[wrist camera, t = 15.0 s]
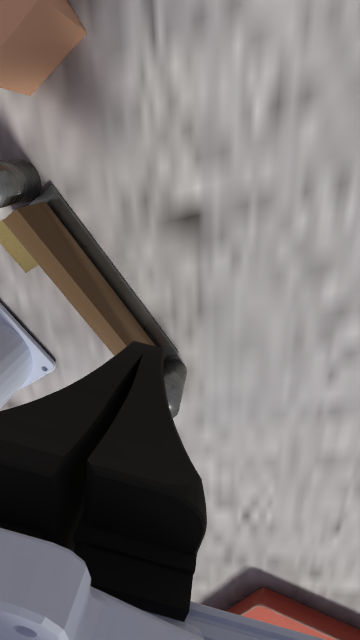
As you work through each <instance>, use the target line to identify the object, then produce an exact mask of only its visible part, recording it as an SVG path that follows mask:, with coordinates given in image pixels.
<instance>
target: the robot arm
mask: <svg viewBox="0 0 360 640" xmlns="http://www.w3.org/2000/svg"><path fill="white" fill-rule="evenodd" d="M165 352H166V351H165V350H164V348H161V347H157V346H153V345H149V344H145V343H141V342H137V341H133V342H131V343H130V344H129V345H128V346H126V347H125V348H124V349H123V350H122V351H121V352H119V353H118V354H117V355H115V356H114V357H113V358H112V359H110V360H109V361H107V362H106V363H105V364H103V365H102V366H101V367H99V368H98V369H96V370H94V371H93V372H91V373H90V374H88V375H87V376H85V377H83V378H82V379H80V380H78V381H77V382H75V383H73V384H71V385H69V386H67V387H65V388H63V389H61V390H59V391H57V392H54V393H52V394H50V395H47V396H45V397H43V398H40V399H37V400H35V401H32V402H29V403H26V404H23V405H20V406H17V407H14V408H11V409H7V410H3V411H0V640H326V639H322V638H319V637H315V636H312V635H308V634H305V633H301V632H298V631H294V630H290V629H287V628H283V627H280V626H276V625H273V624H269V623H266V622H262V621H259V620H255V619H251V618H248V617H244V616H241V615H237V614H234V613H230V612H227V611H223V610H220V609H216V608H212V607H209V606H205V605H202V604H198V603H195V602H191V601H190V599H191V589H192V580H193V574H194V572H195V567H196V557H197V552H198V550H199V547H200V545H201V542H202V540H203V538H204V535H205V532H206V526H207V515H206V503H205V496H204V490H203V485H202V480H201V478H200V476H199V474H198V473H197V471H196V469H195V467H194V466H193V464H192V462H191V460H190V458H189V456H188V454H187V452H186V450H185V448H184V446H183V444H182V442H181V439H180V437H179V434H178V432H177V430H176V427H175V424H174V421H173V418H172V415H171V411H170V408H169V404H168V400H167V394H166V389H165V382H164V370H163V363H164V357H165ZM44 366H45V367H46V368H45V367H44ZM55 368H56V363H55V361H54V360H53V359H52V358H51V357H50V356H49V355H48V354H47V353H46V352H45V351H44V350H43V348H42V347H41V346H40V345H39V344H38V343H37V342H36V341H35V340H34V339H33V338H32V337H31V336H30V334H29V333H28V332H27V331H26V330H25V329H24V328H23V327H22V326H21V325H20V324H19V323H18V321H17V320H16V319H15V318H14V317H13V316H12V315H11V314H10V313H9V312H8V311H7V310H6V308H5V307H4V306H3V305H2V304H1V303H0V409H1V407H2V406H3V405H4V404H5V403H6V402H7V401H8V400H9V399H10V398H11V396H12V395H13V394H14V393H15V392H16V391H18V390H20V389H21V388H23V387H25V386H27V385H29V384H30V383H32V382H34V381H36V380H37V379H39V378H41V377H43V376H44V375H46V374H48V373H50V372H51V371H53V370H54V369H55Z"/></svg>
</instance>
